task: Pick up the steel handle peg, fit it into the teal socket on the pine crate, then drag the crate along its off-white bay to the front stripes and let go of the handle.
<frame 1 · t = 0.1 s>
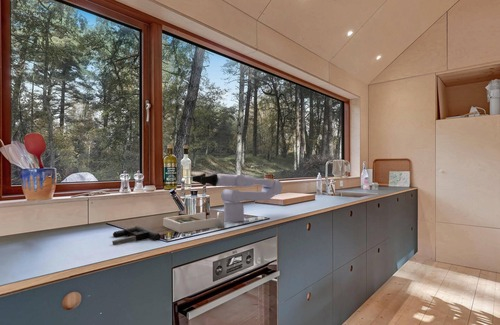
hand: (196, 179, 130), 22 cm above the worktop, tool horizontal, fingers open, 7 cm apart
bay: (193, 226, 131), on the worktop
handle: (221, 227, 128), on the worktop
door handle: (132, 240, 110), on the worktop
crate: (187, 223, 129), point 2 cm above the worktop, slide at 7.0 cm
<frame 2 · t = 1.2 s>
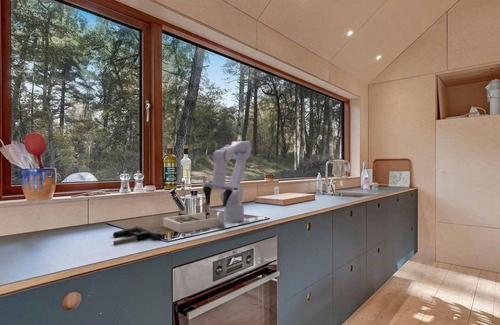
hand: (216, 205, 127), 10 cm above the worktop, tool pointing down, fingers open, 7 cm apart
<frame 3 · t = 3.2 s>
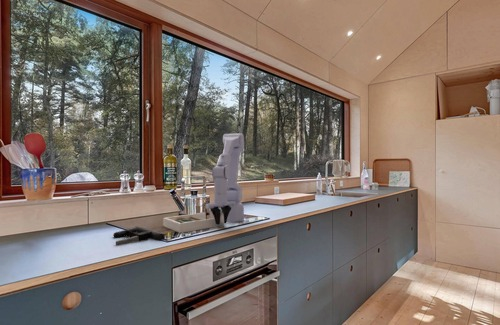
hand: (221, 223, 128), 2 cm above the worktop, tool pointing down, fingers closed on handle, 3 cm apart
handle: (221, 227, 128), on the worktop, touching gripper
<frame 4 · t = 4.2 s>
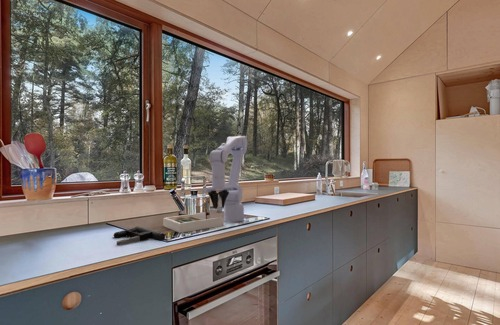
hand: (218, 207, 128), 9 cm above the worktop, tool pointing down, fingers closed on handle, 3 cm apart
handle: (218, 212, 128), point 7 cm above the worktop, touching gripper
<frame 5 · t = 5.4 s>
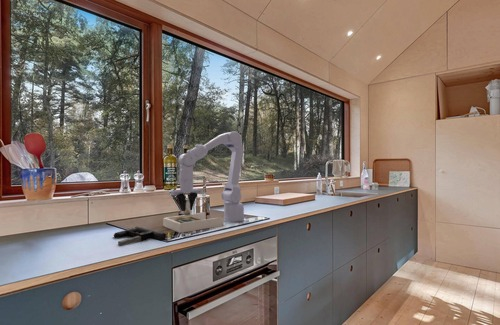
hand: (186, 210, 129), 8 cm above the worktop, tool pointing down, fingers closed on handle, 3 cm apart
handle: (187, 214, 129), point 6 cm above the worktop, touching gripper
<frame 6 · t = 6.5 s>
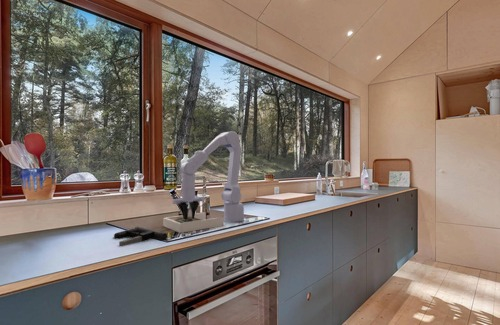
hand: (188, 218, 130), 4 cm above the worktop, tool pointing down, fingers closed on handle, 3 cm apart
handle: (189, 223, 130), point 2 cm above the worktop, touching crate, gripper
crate: (187, 223, 129), point 2 cm above the worktop, slide at 6.9 cm, touching handle
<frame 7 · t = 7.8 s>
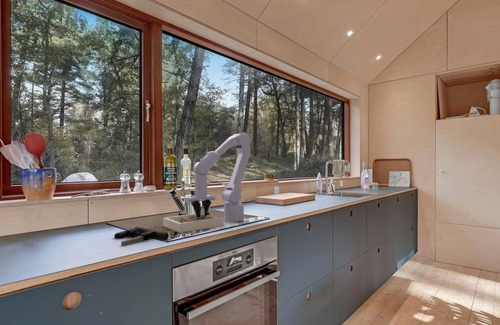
hand: (201, 216, 134), 4 cm above the worktop, tool pointing down, fingers closed on handle, 3 cm apart
handle: (201, 221, 134), point 2 cm above the worktop, touching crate, gripper
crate: (199, 221, 133), point 2 cm above the worktop, slide at 0.5 cm, touching handle
when the fingers open (4 cm above the worktop, at t = 9.1 s): handle stays where it is, resting on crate.
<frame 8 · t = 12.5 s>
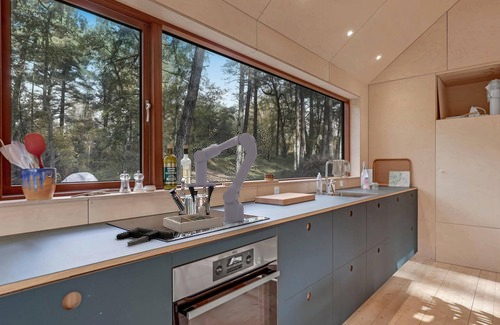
hand: (201, 201, 145), 9 cm above the worktop, tool pointing down, fingers open, 7 cm apart
handle: (201, 221, 134), point 1 cm above the worktop, touching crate
door handle: (141, 241, 109), on the worktop
everything else where it was.
at the end: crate slide at 0.3 cm; handle 0.8 cm off-centre on the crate, point 1.2 cm above the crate's base; the gripper is holding nothing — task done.
